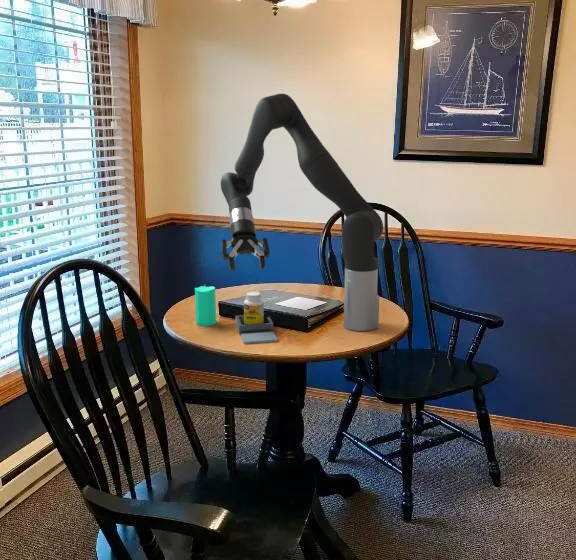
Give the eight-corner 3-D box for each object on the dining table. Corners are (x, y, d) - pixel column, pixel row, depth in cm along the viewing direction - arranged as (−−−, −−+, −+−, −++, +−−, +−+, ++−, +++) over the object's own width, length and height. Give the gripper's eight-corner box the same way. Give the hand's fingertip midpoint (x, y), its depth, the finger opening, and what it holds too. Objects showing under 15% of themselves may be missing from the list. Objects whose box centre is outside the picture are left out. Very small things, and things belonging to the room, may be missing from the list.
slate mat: (273, 333, 165) (273, 331, 164) (277, 341, 158) (277, 339, 158) (241, 335, 163) (241, 333, 163) (244, 344, 157) (244, 341, 156)
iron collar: (267, 321, 175) (267, 313, 174) (273, 332, 166) (273, 323, 165) (235, 323, 173) (235, 315, 172) (239, 334, 164) (239, 325, 163)
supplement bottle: (240, 329, 168) (239, 294, 166) (251, 323, 173) (250, 290, 171) (257, 332, 166) (256, 297, 163) (267, 326, 170) (267, 292, 168)
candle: (220, 321, 175) (219, 282, 172) (206, 327, 170) (205, 286, 167) (205, 318, 178) (204, 279, 175) (191, 323, 174) (189, 283, 171)
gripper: (219, 218, 180) (224, 263, 172) (266, 217, 183) (272, 261, 175) (218, 233, 186) (223, 277, 178) (263, 231, 189) (270, 274, 181)
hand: (247, 269), depth 176 cm, fingers open, 8 cm apart
